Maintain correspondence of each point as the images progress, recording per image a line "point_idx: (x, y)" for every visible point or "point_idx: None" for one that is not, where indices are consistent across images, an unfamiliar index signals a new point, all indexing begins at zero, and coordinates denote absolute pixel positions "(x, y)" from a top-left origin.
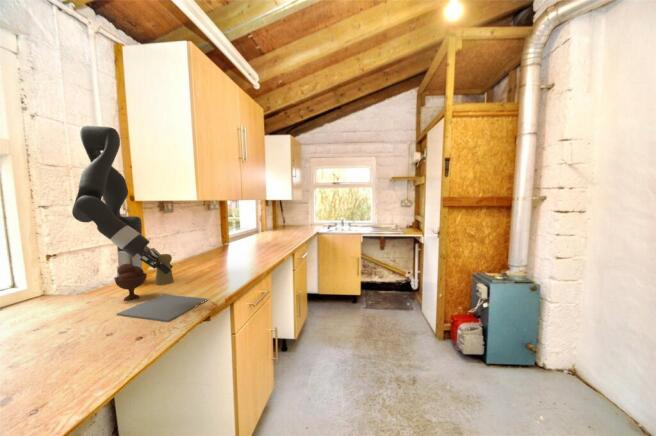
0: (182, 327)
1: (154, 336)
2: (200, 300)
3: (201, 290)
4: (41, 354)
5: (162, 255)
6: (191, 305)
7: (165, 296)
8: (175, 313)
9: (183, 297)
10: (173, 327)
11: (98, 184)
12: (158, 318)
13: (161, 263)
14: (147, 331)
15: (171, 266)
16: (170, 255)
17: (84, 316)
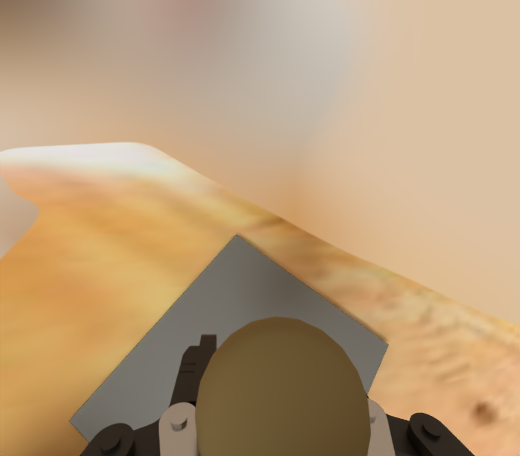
0: (425, 299)
1: (474, 368)
2: (242, 256)
3: (107, 256)
4: None
5: (346, 418)
6: (281, 282)
7: (115, 403)
8: (338, 328)
9: (178, 317)
10: (423, 323)
11: None
12: (369, 381)
13: (376, 406)
14: (443, 399)
15: (215, 340)
16: (283, 323)
17: None
